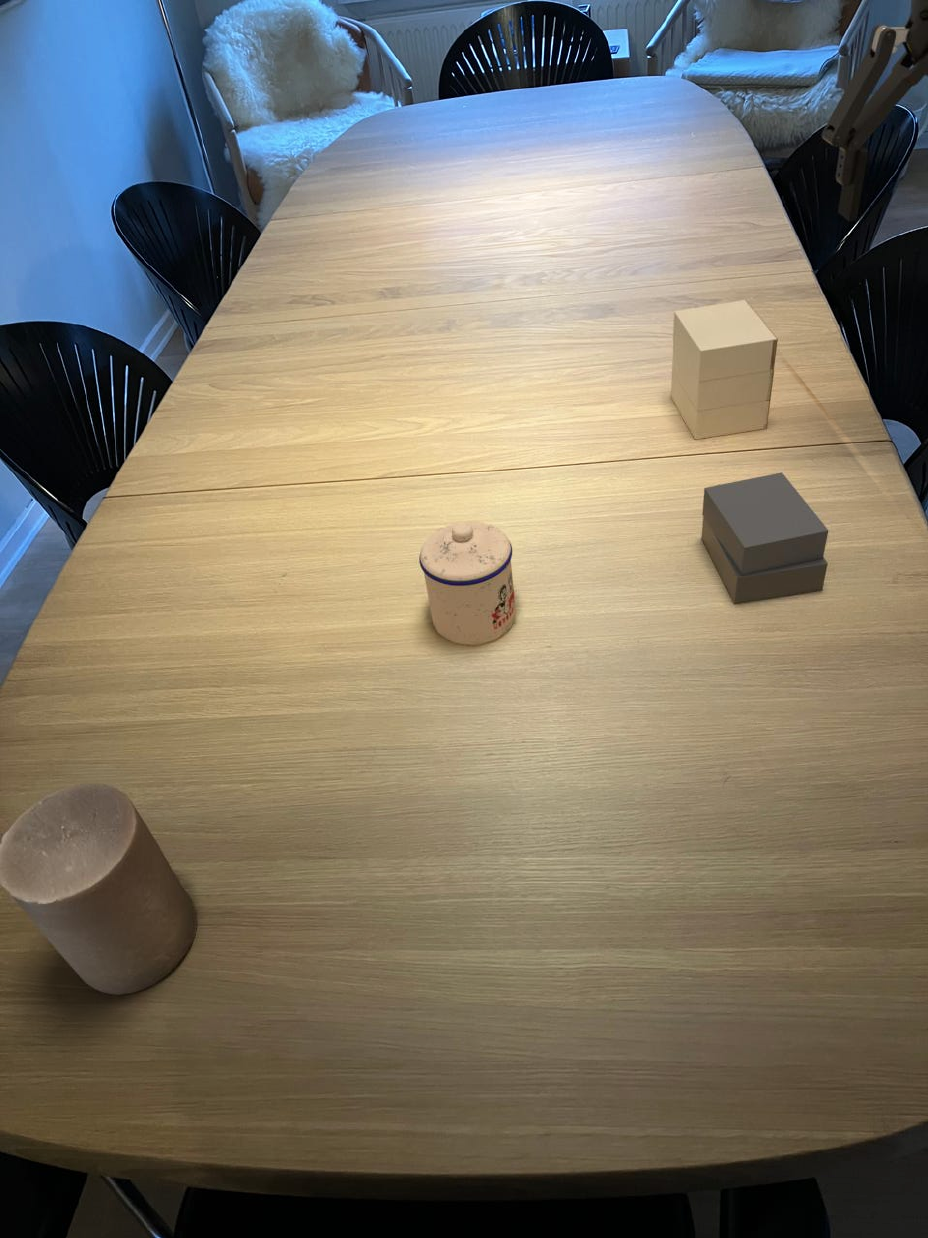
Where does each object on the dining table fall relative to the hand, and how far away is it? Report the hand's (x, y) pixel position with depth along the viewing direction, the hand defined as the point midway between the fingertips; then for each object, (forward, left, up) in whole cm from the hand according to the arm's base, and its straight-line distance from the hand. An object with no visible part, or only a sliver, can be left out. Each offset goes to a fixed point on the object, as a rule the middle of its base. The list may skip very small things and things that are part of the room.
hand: (913, 206), depth 93 cm
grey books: (+20, +20, -27) cm, 39 cm away
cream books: (+15, -10, -27) cm, 32 cm away
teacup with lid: (+50, +20, -27) cm, 60 cm away
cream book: (+15, -10, -19) cm, 26 cm away
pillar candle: (+81, +52, -27) cm, 100 cm away
